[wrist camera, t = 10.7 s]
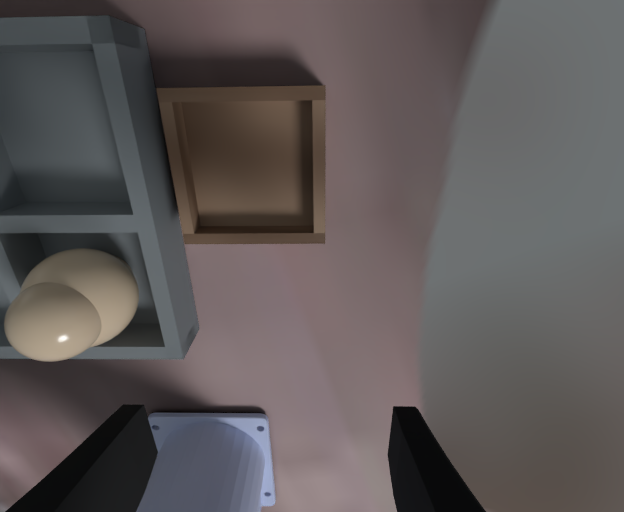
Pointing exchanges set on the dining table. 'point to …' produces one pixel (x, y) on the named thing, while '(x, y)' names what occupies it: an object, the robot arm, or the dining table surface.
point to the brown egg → (71, 304)
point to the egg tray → (90, 172)
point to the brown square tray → (247, 162)
